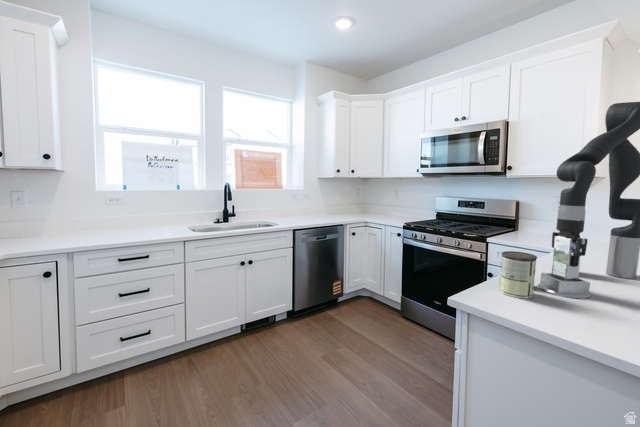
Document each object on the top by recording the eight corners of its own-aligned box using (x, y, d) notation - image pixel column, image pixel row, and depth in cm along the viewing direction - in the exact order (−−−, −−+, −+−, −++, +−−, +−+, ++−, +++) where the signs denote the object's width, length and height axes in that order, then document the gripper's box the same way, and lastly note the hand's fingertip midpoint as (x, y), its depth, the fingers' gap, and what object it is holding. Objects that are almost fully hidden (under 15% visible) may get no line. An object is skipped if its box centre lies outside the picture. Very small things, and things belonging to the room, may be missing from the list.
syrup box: (579, 278, 107) (583, 238, 106) (566, 279, 106) (570, 238, 104) (563, 273, 113) (567, 235, 111) (550, 274, 111) (554, 235, 110)
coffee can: (495, 286, 113) (498, 250, 112) (527, 290, 110) (531, 252, 108) (502, 296, 103) (505, 256, 102) (537, 300, 100) (541, 259, 99)
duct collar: (529, 282, 118) (530, 270, 117) (569, 284, 117) (571, 272, 116) (555, 297, 103) (556, 283, 103) (602, 299, 102) (604, 285, 101)
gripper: (546, 215, 114) (542, 258, 116) (574, 220, 100) (569, 268, 102) (567, 216, 114) (563, 258, 116) (598, 221, 100) (593, 269, 101)
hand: (566, 263), depth 109 cm, fingers closed on syrup box, 6 cm apart
